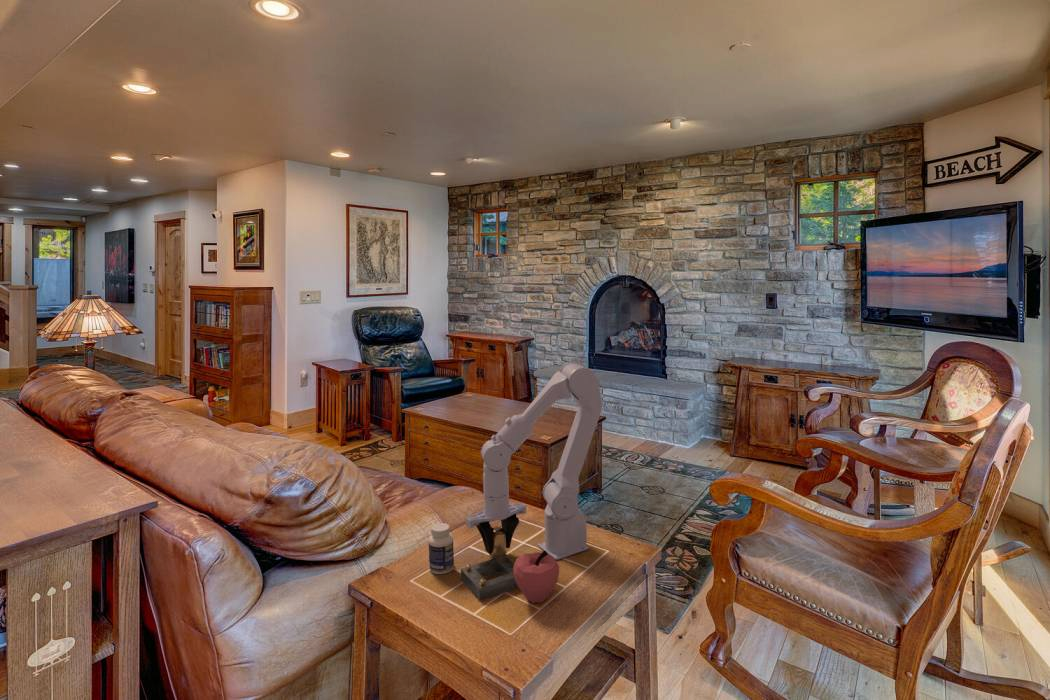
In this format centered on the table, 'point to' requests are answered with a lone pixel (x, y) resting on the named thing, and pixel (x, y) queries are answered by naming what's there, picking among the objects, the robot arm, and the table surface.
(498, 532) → the brass cylinder
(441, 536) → the pill bottle
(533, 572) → the apple
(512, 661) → the table surface
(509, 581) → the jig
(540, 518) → the table surface
